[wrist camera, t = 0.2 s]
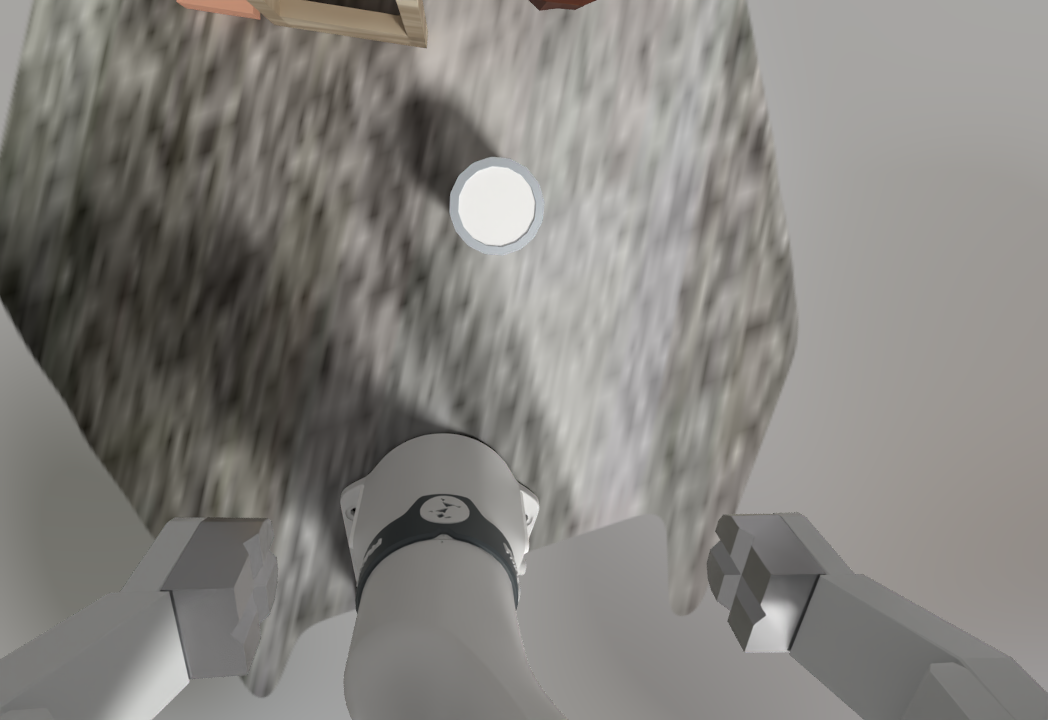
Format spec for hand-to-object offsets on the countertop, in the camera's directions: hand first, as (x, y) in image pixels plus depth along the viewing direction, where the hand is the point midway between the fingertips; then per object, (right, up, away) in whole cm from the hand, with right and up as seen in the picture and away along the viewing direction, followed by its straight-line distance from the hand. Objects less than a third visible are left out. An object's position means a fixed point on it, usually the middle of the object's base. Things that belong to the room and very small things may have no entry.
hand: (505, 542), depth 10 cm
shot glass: (-2, +16, +37) cm, 40 cm away
